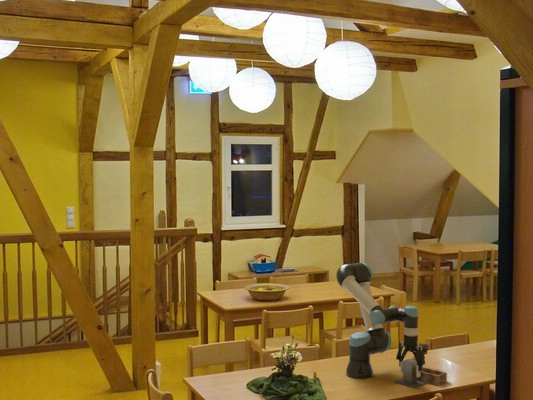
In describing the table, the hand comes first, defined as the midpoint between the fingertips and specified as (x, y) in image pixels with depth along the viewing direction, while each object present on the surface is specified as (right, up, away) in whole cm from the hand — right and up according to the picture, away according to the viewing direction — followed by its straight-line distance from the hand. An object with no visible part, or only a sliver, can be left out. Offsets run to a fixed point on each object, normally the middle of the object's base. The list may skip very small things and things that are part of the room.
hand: (410, 374), depth 377 cm
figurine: (+9, -3, +24) cm, 26 cm away
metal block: (0, -4, 0) cm, 4 cm away
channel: (+10, -4, +8) cm, 13 cm away
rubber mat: (0, -5, 0) cm, 5 cm away
